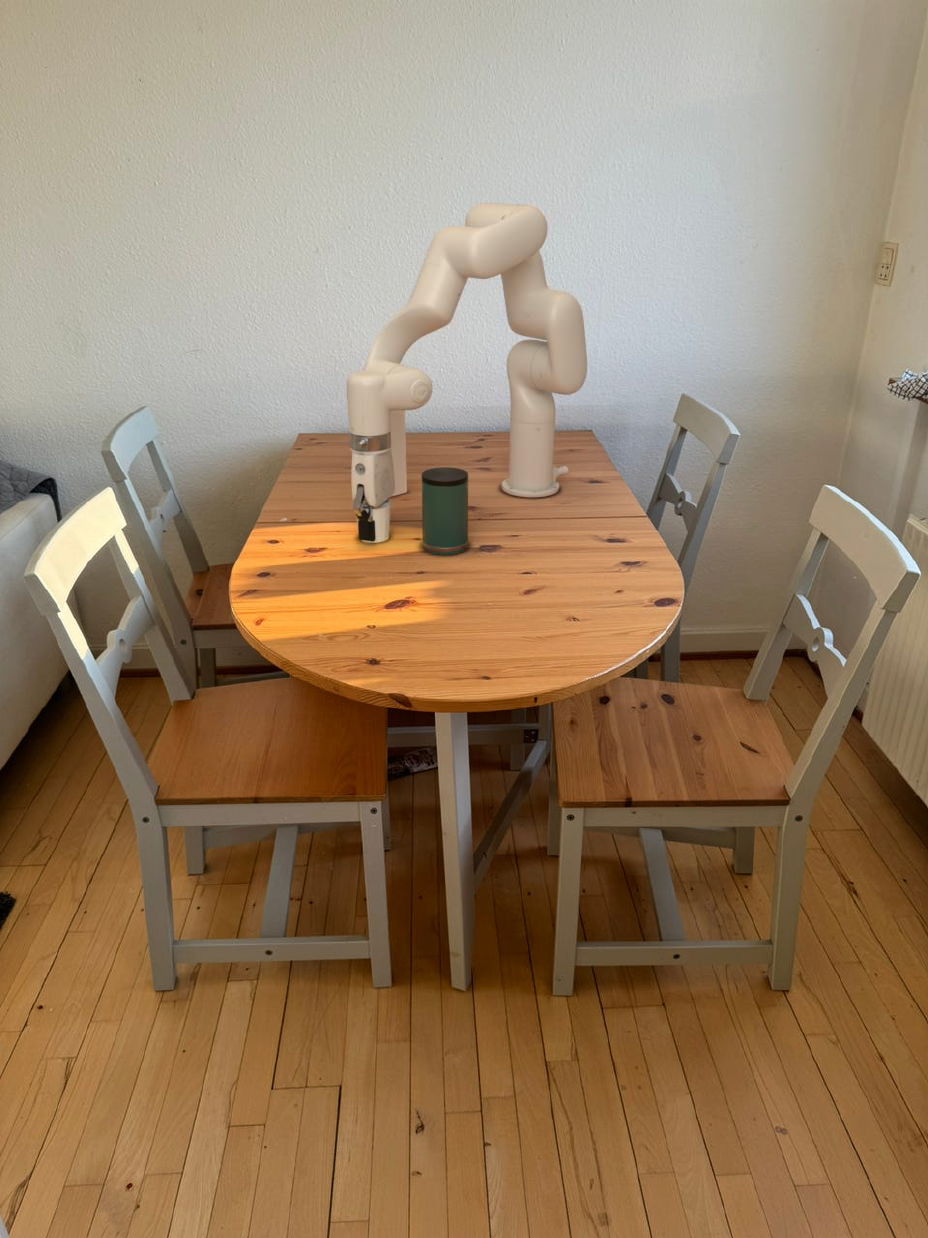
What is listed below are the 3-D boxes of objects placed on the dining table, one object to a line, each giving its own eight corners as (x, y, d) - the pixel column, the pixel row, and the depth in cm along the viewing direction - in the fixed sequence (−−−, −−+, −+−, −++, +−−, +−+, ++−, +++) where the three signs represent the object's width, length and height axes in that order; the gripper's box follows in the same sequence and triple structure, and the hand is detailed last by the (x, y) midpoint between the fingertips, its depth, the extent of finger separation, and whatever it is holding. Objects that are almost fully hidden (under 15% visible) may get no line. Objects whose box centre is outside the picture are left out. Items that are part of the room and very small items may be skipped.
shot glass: (397, 533, 182) (396, 498, 179) (383, 545, 176) (382, 510, 173) (365, 529, 184) (363, 494, 181) (350, 541, 178) (348, 506, 175)
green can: (449, 535, 181) (449, 464, 175) (477, 548, 175) (478, 475, 169) (413, 544, 176) (412, 472, 170) (440, 558, 170) (439, 484, 164)
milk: (407, 492, 204) (405, 390, 194) (385, 498, 200) (382, 394, 191) (389, 485, 208) (387, 385, 198) (367, 491, 204) (364, 389, 195)
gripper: (370, 455, 163) (374, 552, 171) (406, 431, 178) (409, 521, 186) (330, 451, 165) (336, 547, 173) (370, 427, 180) (374, 517, 188)
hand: (374, 533), depth 180 cm, fingers closed on shot glass, 5 cm apart
